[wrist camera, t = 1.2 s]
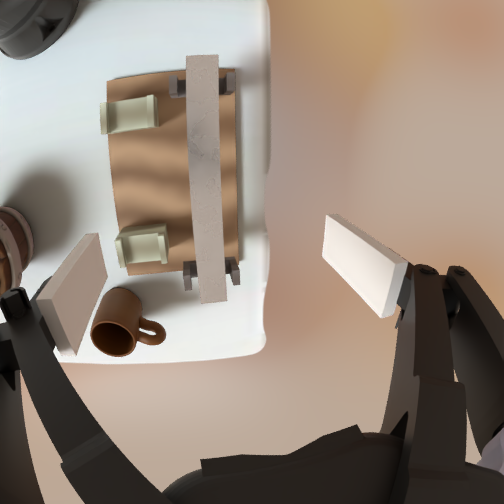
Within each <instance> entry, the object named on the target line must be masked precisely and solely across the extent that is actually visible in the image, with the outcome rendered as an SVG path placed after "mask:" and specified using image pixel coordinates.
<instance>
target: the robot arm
mask: <svg viewBox="0 0 504 504" xmlns="http://www.w3.org/2000/svg"><path fill="white" fill-rule="evenodd" d="M77 5H78V0H0V50H1V52H2V53H3V54H4V55H6V56H7V57H10V58H13V59H17V60H23V59H28V58H31V57H33V56H35V55H37V54H39V53H41V52H42V51H44V50H45V49H47V48H48V47H49V46H50V45H52V44H53V43H54V42H55V41H56V40H57V39H58V38H59V37H60V36H61V34H62V33H63V32H64V31H65V30H66V28H67V27H68V25H69V24H70V22H71V20H72V19H73V17H74V14H75V12H76V9H77ZM322 257H323V258H324V259H325V260H326V261H327V262H328V263H329V264H330V265H331V266H332V267H333V268H334V269H335V270H336V271H337V272H338V273H339V274H340V275H341V277H343V279H344V280H345V281H346V282H347V283H348V284H349V285H350V286H351V287H352V288H353V289H354V290H355V291H356V292H357V293H358V294H359V295H360V296H361V297H362V298H363V300H364V301H366V303H367V304H368V305H369V306H370V307H371V308H372V309H373V310H374V311H375V312H376V314H377V315H378V316H379V317H380V318H384V317H387V316H391V315H393V314H394V311H395V308H396V304H398V305H399V306H400V307H401V311H400V314H399V318H398V320H397V323H396V326H395V328H396V329H397V327H398V335H397V343H396V352H395V359H394V367H393V373H392V380H391V385H390V390H389V396H388V401H387V406H386V410H385V415H384V420H383V424H382V428H381V430H380V433H374V432H369V433H361V431H360V429H359V427H358V425H357V424H356V425H354V426H351V427H348V428H345V429H342V430H340V431H336V432H333V433H331V434H327V435H324V436H322V437H320V438H318V439H317V440H315V441H313V442H312V443H309V444H308V445H306V446H304V447H302V448H300V449H298V450H296V451H294V452H292V453H290V454H288V455H243V454H242V455H236V456H227V457H219V458H211V459H200V461H201V467H202V469H199V470H196V471H193V472H191V473H189V474H186V475H184V476H182V477H181V478H179V479H177V480H176V481H175V482H173V483H172V484H170V485H169V487H167V488H166V489H165V490H164V491H163V492H162V493H161V492H160V491H159V490H158V489H157V488H156V487H155V486H154V485H153V484H151V483H150V482H149V481H148V480H147V479H146V478H145V477H144V476H143V475H142V474H141V473H140V471H139V470H137V468H136V467H135V466H134V465H133V464H132V463H131V462H130V461H129V460H128V459H127V458H126V456H125V455H124V454H123V453H122V452H121V451H120V450H119V448H118V447H117V446H116V445H115V444H114V442H112V440H111V439H110V438H109V436H108V435H107V434H106V433H105V431H104V430H103V429H102V428H101V426H100V425H99V424H98V422H97V421H96V420H95V418H94V417H93V416H92V414H91V413H90V411H89V410H88V409H87V407H86V406H85V404H84V403H83V401H82V400H81V398H80V397H79V395H78V394H77V392H76V390H75V389H74V387H73V386H72V384H71V382H70V381H69V379H68V378H67V376H66V374H65V373H64V371H63V369H62V367H61V366H60V364H59V362H58V360H57V358H56V357H55V355H54V353H53V350H54V348H55V346H56V347H57V349H58V351H59V352H60V354H61V356H76V355H77V352H78V349H79V346H80V344H81V341H82V338H83V335H84V333H85V330H86V327H87V325H88V322H89V320H90V317H91V315H92V312H93V310H94V307H95V305H96V302H97V300H98V298H99V295H100V293H101V291H102V289H103V286H104V284H105V282H106V280H107V277H108V276H107V272H106V268H105V263H104V259H103V254H102V250H101V245H100V240H99V235H98V233H91V234H86V235H85V236H84V237H83V238H82V239H81V241H80V242H79V243H78V244H77V245H76V247H75V248H74V249H73V250H72V252H71V253H70V254H69V255H68V257H67V258H66V259H65V260H64V262H63V263H62V264H61V265H60V267H59V268H58V269H57V271H56V272H55V273H54V275H53V276H51V277H49V278H48V279H47V280H45V281H44V282H43V284H42V285H41V286H40V289H38V290H37V292H36V294H35V295H34V296H33V297H32V299H31V300H30V301H29V299H28V296H27V293H26V291H25V289H24V288H23V287H15V288H12V289H9V290H8V291H6V292H5V293H3V294H2V295H1V296H0V308H1V310H2V312H3V314H4V317H5V319H6V321H7V322H5V323H1V324H0V504H45V503H44V500H43V497H42V494H41V491H40V488H39V485H38V482H37V478H36V474H35V471H34V467H33V463H32V458H31V454H30V449H29V445H28V439H27V434H26V428H25V422H24V414H23V406H22V395H21V383H20V370H21V373H22V376H23V378H24V381H25V384H26V386H27V389H28V391H29V394H30V396H31V399H32V401H33V404H34V406H35V408H36V410H37V413H38V415H39V417H40V419H41V421H42V423H43V425H44V427H45V429H46V431H47V433H48V435H49V437H50V439H51V441H52V443H53V444H54V446H55V448H56V450H57V452H58V453H59V455H60V457H61V459H62V461H63V463H61V468H62V470H63V472H64V474H65V476H66V477H67V478H68V480H69V482H70V483H71V485H72V486H73V488H74V489H75V491H76V492H77V493H78V495H79V496H80V498H81V499H82V500H83V502H84V503H85V504H504V319H503V318H502V316H501V315H500V313H499V312H498V310H497V309H496V307H495V306H494V304H493V303H492V302H491V300H490V299H489V297H488V296H487V295H486V293H485V292H484V291H483V289H482V288H481V287H480V285H479V284H478V283H477V281H476V280H475V279H474V277H473V276H472V275H471V274H470V273H469V272H468V271H467V270H466V269H464V268H463V267H460V266H450V267H449V268H448V271H447V275H439V273H438V272H437V270H436V269H434V268H432V267H430V266H428V265H422V264H417V265H415V266H414V265H412V264H411V263H410V262H408V261H407V260H405V259H404V258H403V257H401V256H400V255H398V254H397V253H395V252H394V251H393V250H391V249H390V248H388V247H386V246H385V245H383V244H382V243H380V242H379V241H377V240H376V239H375V238H373V237H372V236H370V235H369V234H367V233H366V232H364V231H363V230H361V229H359V228H358V227H356V226H355V225H354V224H352V223H350V222H349V221H347V220H345V219H344V218H343V217H341V216H339V215H338V214H331V215H326V224H325V234H324V244H323V254H322ZM458 310H459V311H458ZM454 370H455V373H456V376H457V378H458V382H455V381H454ZM466 409H467V412H468V417H469V421H470V424H471V429H472V432H473V436H474V439H475V443H476V445H477V448H478V451H479V453H480V455H481V457H482V459H481V460H480V461H479V462H478V463H477V465H475V464H471V463H468V462H465V456H466V434H467V433H466V432H467V415H466Z"/></svg>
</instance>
